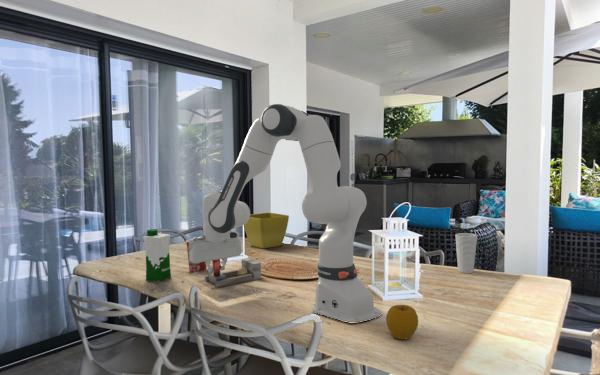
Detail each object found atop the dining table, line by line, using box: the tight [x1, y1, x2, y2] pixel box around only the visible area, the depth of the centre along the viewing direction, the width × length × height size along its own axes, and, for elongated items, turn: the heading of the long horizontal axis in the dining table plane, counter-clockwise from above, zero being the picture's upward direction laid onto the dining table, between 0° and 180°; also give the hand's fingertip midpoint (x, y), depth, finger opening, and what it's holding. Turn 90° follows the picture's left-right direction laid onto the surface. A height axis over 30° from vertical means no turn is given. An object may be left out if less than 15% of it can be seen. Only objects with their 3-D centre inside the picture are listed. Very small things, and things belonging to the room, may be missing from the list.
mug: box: [185, 238, 207, 273], centre depth 187 cm, size 13×9×14 cm
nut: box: [237, 266, 248, 276], centre depth 172 cm, size 4×4×4 cm
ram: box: [207, 259, 226, 285], centre depth 165 cm, size 7×4×9 cm, turn 36°
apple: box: [385, 304, 419, 340], centre depth 117 cm, size 8×8×9 cm
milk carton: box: [142, 228, 172, 282], centre depth 177 cm, size 9×9×20 cm
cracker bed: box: [197, 257, 265, 291], centre depth 169 cm, size 14×22×8 cm, turn 126°
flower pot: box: [243, 212, 290, 249], centre depth 238 cm, size 19×19×17 cm
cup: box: [455, 232, 478, 274], centre depth 180 cm, size 8×8×16 cm
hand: (216, 270), depth 165 cm, fingers open, 3 cm apart
